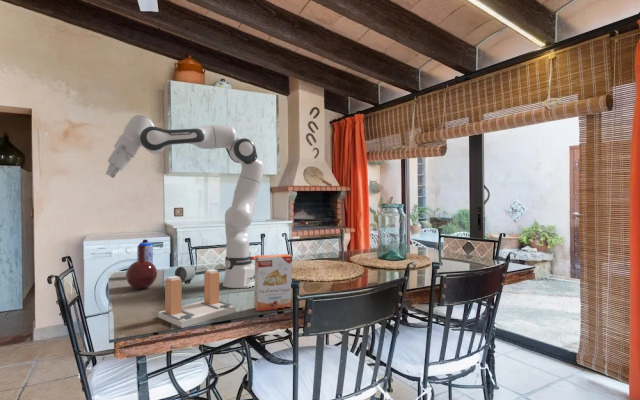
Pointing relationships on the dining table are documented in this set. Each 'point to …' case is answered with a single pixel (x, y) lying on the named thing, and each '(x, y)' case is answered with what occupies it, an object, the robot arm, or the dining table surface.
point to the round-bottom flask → (141, 272)
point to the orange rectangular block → (173, 295)
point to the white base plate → (197, 313)
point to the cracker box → (272, 281)
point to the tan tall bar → (211, 286)
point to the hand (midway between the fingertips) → (109, 176)
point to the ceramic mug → (185, 272)
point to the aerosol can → (146, 251)
